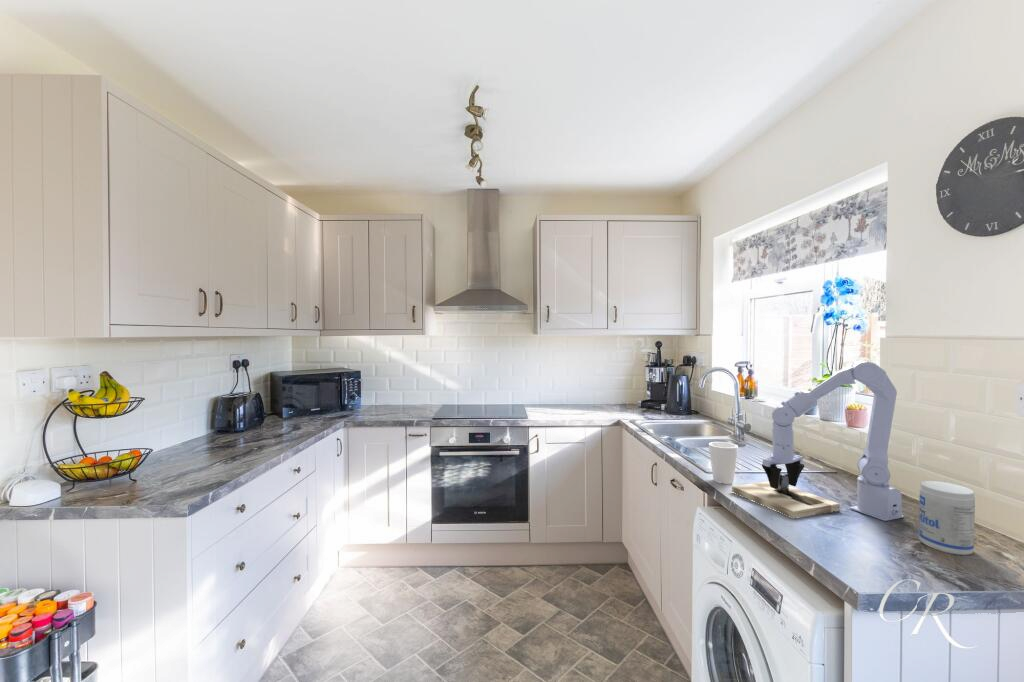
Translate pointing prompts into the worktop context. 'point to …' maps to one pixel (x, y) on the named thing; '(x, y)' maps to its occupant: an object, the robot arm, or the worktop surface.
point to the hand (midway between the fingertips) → (783, 486)
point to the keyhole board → (786, 500)
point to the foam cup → (723, 461)
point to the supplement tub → (947, 517)
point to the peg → (784, 484)
